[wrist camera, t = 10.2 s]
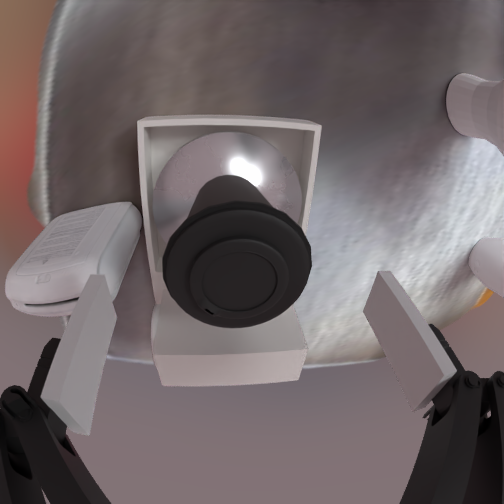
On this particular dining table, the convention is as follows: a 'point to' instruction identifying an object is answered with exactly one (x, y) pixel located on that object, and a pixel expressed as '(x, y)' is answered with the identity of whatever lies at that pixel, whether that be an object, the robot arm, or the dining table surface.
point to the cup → (477, 108)
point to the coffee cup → (235, 257)
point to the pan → (218, 164)
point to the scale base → (166, 309)
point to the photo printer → (74, 258)
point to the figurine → (489, 263)
